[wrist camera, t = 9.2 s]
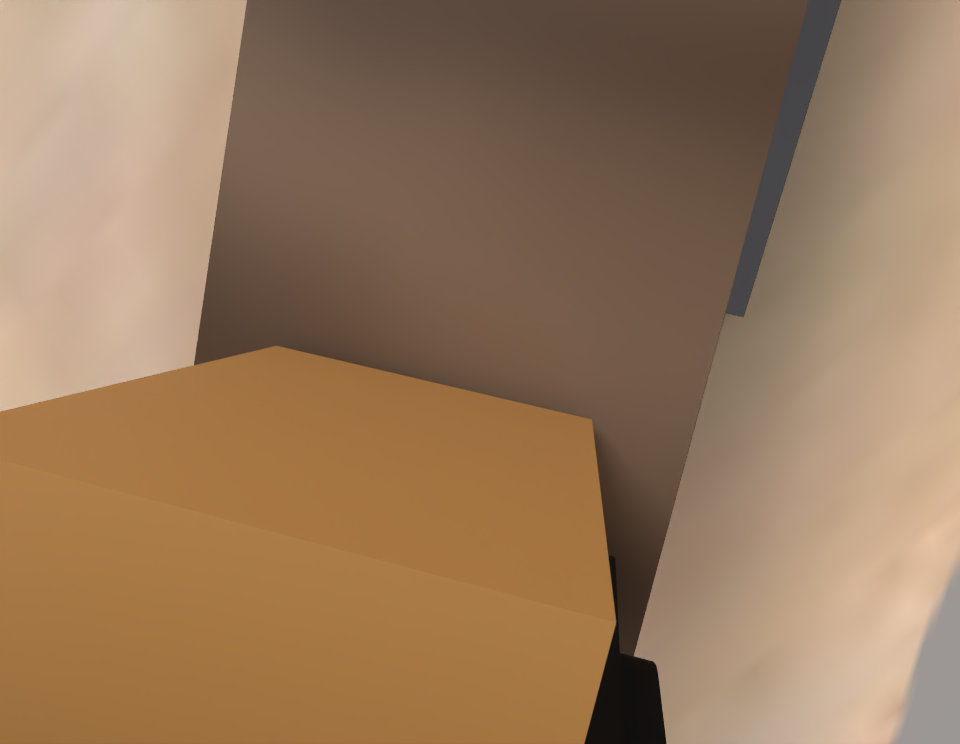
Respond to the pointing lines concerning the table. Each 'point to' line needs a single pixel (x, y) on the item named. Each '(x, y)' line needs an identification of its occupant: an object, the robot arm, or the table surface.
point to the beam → (506, 210)
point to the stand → (783, 144)
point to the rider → (299, 562)
